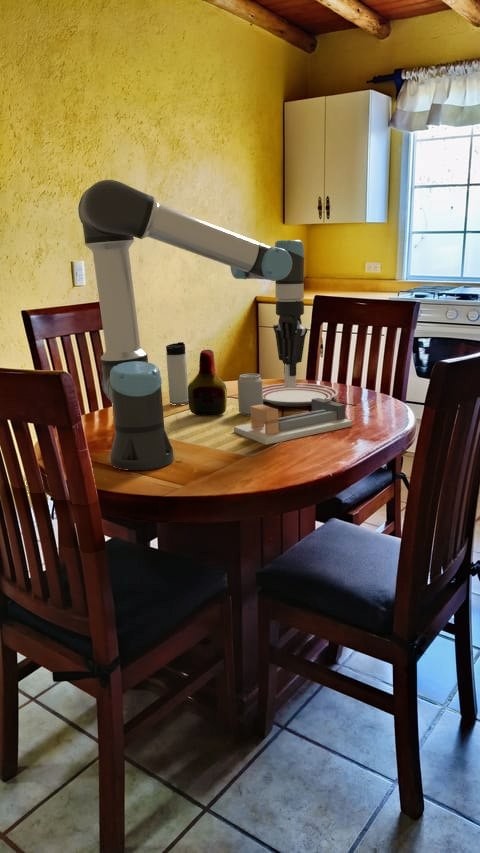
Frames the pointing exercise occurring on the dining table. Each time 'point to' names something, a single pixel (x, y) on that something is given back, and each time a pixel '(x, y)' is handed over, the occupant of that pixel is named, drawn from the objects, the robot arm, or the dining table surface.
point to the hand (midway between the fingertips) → (290, 387)
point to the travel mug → (177, 373)
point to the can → (249, 392)
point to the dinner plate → (296, 394)
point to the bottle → (207, 389)
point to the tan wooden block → (264, 418)
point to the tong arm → (301, 415)
